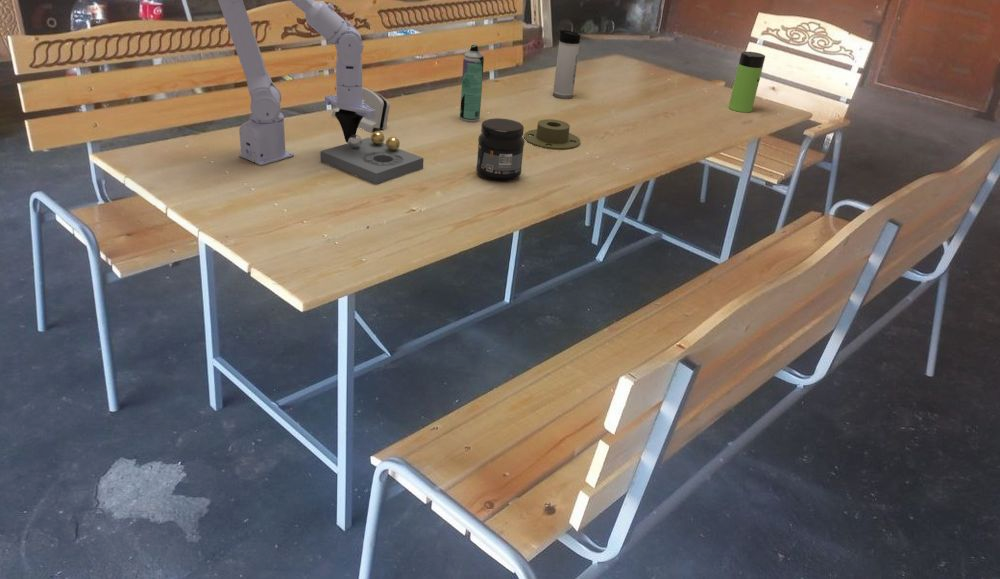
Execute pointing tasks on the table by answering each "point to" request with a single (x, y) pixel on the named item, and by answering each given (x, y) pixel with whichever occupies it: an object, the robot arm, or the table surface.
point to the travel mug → (566, 64)
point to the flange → (552, 135)
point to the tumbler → (746, 81)
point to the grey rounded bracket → (380, 108)
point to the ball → (354, 141)
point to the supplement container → (500, 150)
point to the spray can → (471, 85)
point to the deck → (372, 161)
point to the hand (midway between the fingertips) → (350, 141)
